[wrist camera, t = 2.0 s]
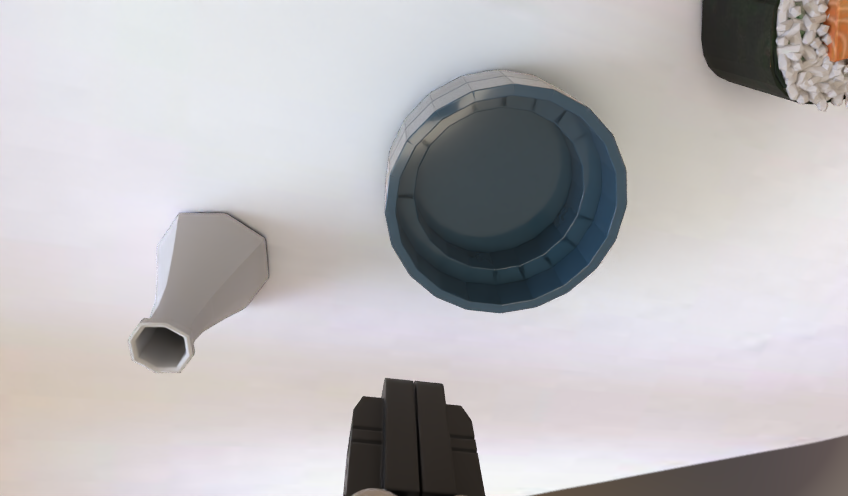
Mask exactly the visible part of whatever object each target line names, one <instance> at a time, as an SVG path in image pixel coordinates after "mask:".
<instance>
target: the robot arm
mask: <svg viewBox="0 0 848 496" xmlns="http://www.w3.org/2000/svg"><path fill="white" fill-rule="evenodd" d="M343 496H485V492H484V486H483V481H482V475H481V470H480V464H479V459H478V453H477V448H476V442H475V440H474V431H473V426H472V421H471V419H470V418H469V416H468V415H467V413H466V412H465V411H464V409H463V408H462V406H458V405H448V404H446V401H445V394H444V386H443V384H440V383H430V382H420V381H415V382H414V383H413V381H410V380H400V379H390V378H385V380H384V385H383V391H382V397H381V398H376V397H365V396H363V397H362V398H361V400H360V401H359V403H358V404H357V405H356V407H355V408H354V410H353V417H352V424H351V431H350V437H349V444H348V451H347V460H346V470H345V481H344V492H343Z"/></svg>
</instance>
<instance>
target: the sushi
mask: <svg viewBox="0 0 848 496" xmlns="http://www.w3.org/2000/svg"><path fill="white" fill-rule="evenodd" d="M702 46H703V53H704V57H705V59H706V61H707V64H708V66H709V67H710V68H711V70H712V71H713V72H714V73H715V74H716V75H717V76H719V77H721V78H723V79H725V80H727V81H730V82H733V83H736V84H739V85H742V86H746V87H749V88H752V89H755V90H759V91H762V92H765V93H768V94H771V95H775V96H778V97H781V98H784V99H788V100H791V101H794V102H797V103H799V104H815V105H816V106H817V108H818V110H820V111H825V110H826V109H827V107H828V104H827V103H828V102H831V103H832V104H833V105H835V106H840V105H841V104H842V102H843V99H845V104H846V107H848V0H703V10H702Z"/></svg>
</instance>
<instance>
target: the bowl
mask: <svg viewBox="0 0 848 496" xmlns="http://www.w3.org/2000/svg"><path fill="white" fill-rule="evenodd" d="M626 205H627V179H626V167H625V165H624V162H623V159H622V157H621V154H620V152H619V149H618V146H617V144H616V141H615V138H614V136H613V134H612V133H611V132H610V131H609V130H608V129H607V128H606V126H605V125H604V124H603V123H602V122H601V121H600V120H599V119H598V117H597V116H596V115H595V114H594V113H593V112H592V111H591V109H590V108H588V107H587V106H586V105H584V104H583V103H581V102H580V101H578V100H577V99H575V98H573V97H572V96H570V95H569V94H567V93H566V92H564V91H563V90H561V89H559V88H557V87H556V86H554V85H552V84H550V83H548V82H546V81H544V80H542V79H541V78H539V77H537V76H535V75H532V74H526V73H519V72H513V71H506V70H491V71H486V72H480V73H475V74H469V75H463V76H460V77H459V78H457V79H455V80H453V81H451V82H449V83H447V84H446V85H444V86H442V87H440V88H438V89H436V90H434V91H433V92H431V93H430V94H428V95H427V96H426V97H425V98H424V99H423V100H422V102H421V103H420V104H419V105H418V106H417V107H416V108H415V109H414V110H413V111H412V112H411V113H410V114H409V115H408V116H407V117H406V118H405V120H404V122H403V124H402V126H401V128H400V130H399V132H398V134H397V136H396V138H395V140H394V142H393V144H392V146H391V148H390V151H389V158H388V166H387V174H386V182H385V216H386V221H387V226H388V231H389V235H390V240H391V245H392V247H393V249H394V250H395V252H396V254H397V255H398V257H399V259H400V260H401V262H402V264H403V265H404V267H405V269H406V270H407V272H408V273H409V275H410V276H411V277H412V278H413V279H415V280H416V281H417V282H418V283H419V284H421V285H422V286H423V287H424V288H425V289H427V290H428V291H429V292H430V293H431V294H433V295H434V296H436V297H437V298H439V299H442V300H444V301H447V302H449V303H452V304H454V305H456V306H459V307H461V308H464V309H467V310H474V311H484V312H493V313H505V312H511V311H517V310H523V309H529V308H535V307H538V306H540V305H542V304H544V303H546V302H549V301H551V300H553V299H555V298H557V297H559V296H562V295H564V294H566V293H568V292H569V291H570V290H572V289H573V288H574V287H575V286H576V285H578V284H579V283H580V282H581V281H582V280H584V279H585V278H586V277H587V276H588V275H590V274H591V273H592V272H593V271H594V270H595V269H596V268H597V267H598V266H599V264H600V263H601V261H602V260H603V258H604V257H605V255H606V254H607V252H608V251H609V250H610V248H611V247H612V245H613V244H614V242H615V241H616V238H617V235H618V232H619V229H620V225H621V222H622V219H623V216H624V213H625V210H626Z"/></svg>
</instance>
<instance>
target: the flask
mask: <svg viewBox="0 0 848 496" xmlns="http://www.w3.org/2000/svg"><path fill="white" fill-rule="evenodd" d="M268 278H269V275H268V264H267V253H266V242H265V238H264V237H262V236H260V235H259V234H257V233H256V232H254V231H253V230H251V229H249V228H248V227H246V226H245V225H243V224H242V223H240V222H239V221H237V220H235V219H234V218H232V217H231V216H229V215H228V214H226V213H179V214H178V216H177V217H176V219H175V220H174V222H173V223H172V225H171V226H170V228H169V229H168V231H167V232H166V234H165V235H164V236H163V238H162V239H161V241H160V242H159V244H158V245H157V282H156V298H155V303H154V306H153V309H152V312H151V315H150V318H144V319H142V320H141V321H140V323H139V324H138V326H137V327H136V328H135V330H134V331H133V333H132V334H131V336H130V337H129V339H128V344H129V348H130V353H131V357H132V361H133V362H135V363H137V364H139V365H141V366H143V367H145V368H147V369H149V370H151V371H152V372H154V373H181V371H182V370H183V369H184V368H185V366H186V365H187V364H188V362H189V361H190V360H191V358H192V357H193V356H194V354H195V349H194V341H195V340H196V339H197V338H198V337H199V335H200V334H201V333H202V332H204V331H205V330H207V329H209V328H210V327H212V326H214V325H215V324H217V323H218V322H220V321H222V320H223V319H225V318H227V317H229V316H231V315H233V314H235V313H237V312H239V311H241V310H243V309H244V308H246V307H247V305H248V304H249V303H250V302H251V300H252V299H253V298H254V296H255V295H256V294H257V293H258V291H259V290H260V289H261V287H262V286H263V285H264V283H265V282H266V281H267V280H268Z"/></svg>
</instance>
